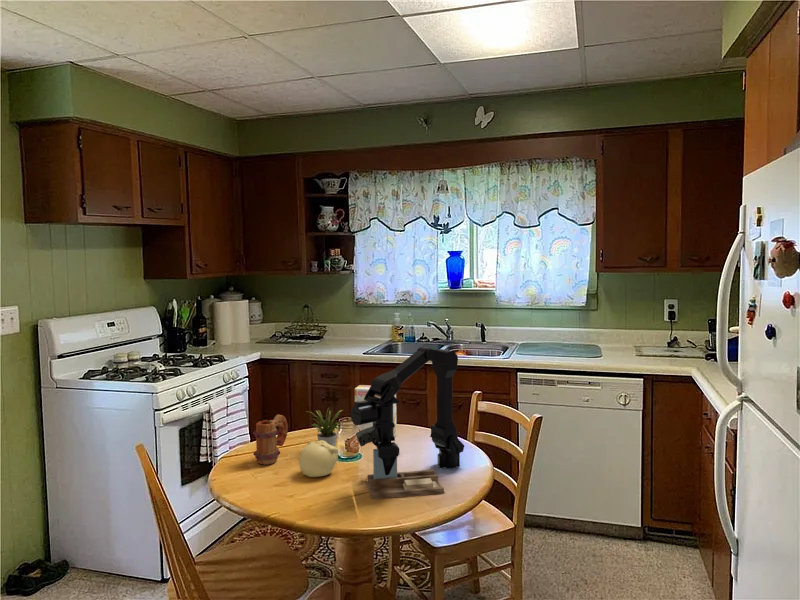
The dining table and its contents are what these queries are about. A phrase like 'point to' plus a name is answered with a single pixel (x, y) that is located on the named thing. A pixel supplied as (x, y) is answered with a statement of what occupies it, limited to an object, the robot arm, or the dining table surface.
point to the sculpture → (318, 458)
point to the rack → (401, 485)
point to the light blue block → (382, 468)
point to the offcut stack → (419, 484)
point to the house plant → (327, 428)
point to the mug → (270, 439)
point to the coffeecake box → (359, 396)
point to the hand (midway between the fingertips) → (384, 469)
